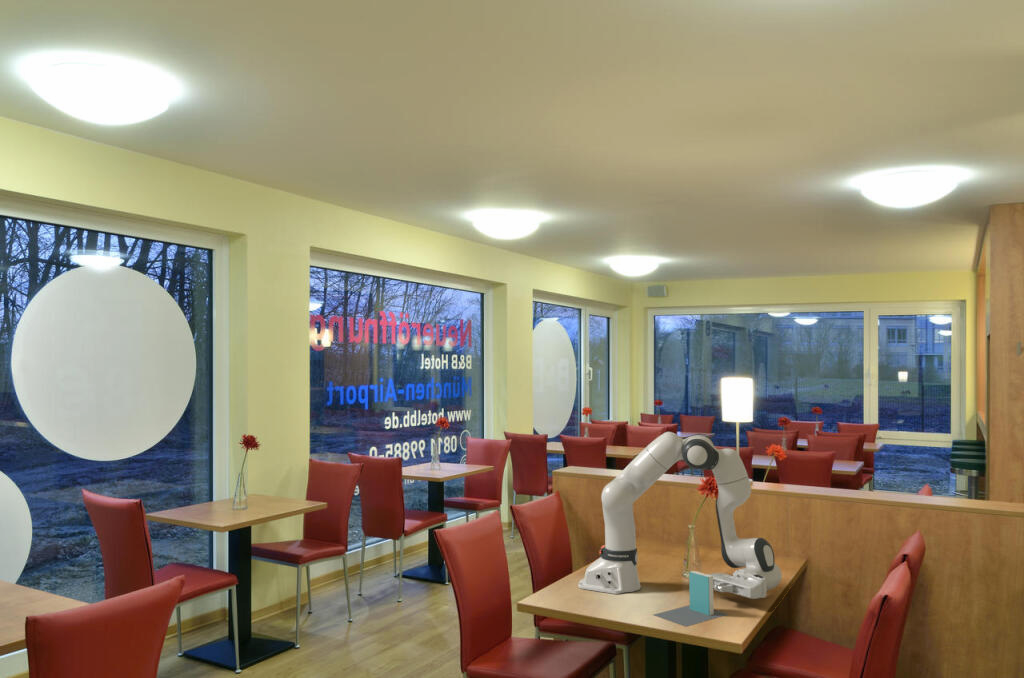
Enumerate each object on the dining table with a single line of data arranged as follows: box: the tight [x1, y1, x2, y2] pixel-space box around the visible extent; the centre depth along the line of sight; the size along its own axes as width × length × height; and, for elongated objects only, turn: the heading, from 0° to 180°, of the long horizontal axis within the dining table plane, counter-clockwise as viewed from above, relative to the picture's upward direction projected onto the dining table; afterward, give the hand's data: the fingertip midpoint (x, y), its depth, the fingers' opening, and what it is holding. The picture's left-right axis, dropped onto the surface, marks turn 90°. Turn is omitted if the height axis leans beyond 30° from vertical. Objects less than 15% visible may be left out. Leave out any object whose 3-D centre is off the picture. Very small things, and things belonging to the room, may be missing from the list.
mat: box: [653, 604, 730, 628], centre depth 242 cm, size 20×14×1 cm
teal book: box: [688, 570, 715, 615], centre depth 245 cm, size 2×8×12 cm, turn 35°
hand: (717, 589), depth 250 cm, fingers closed
